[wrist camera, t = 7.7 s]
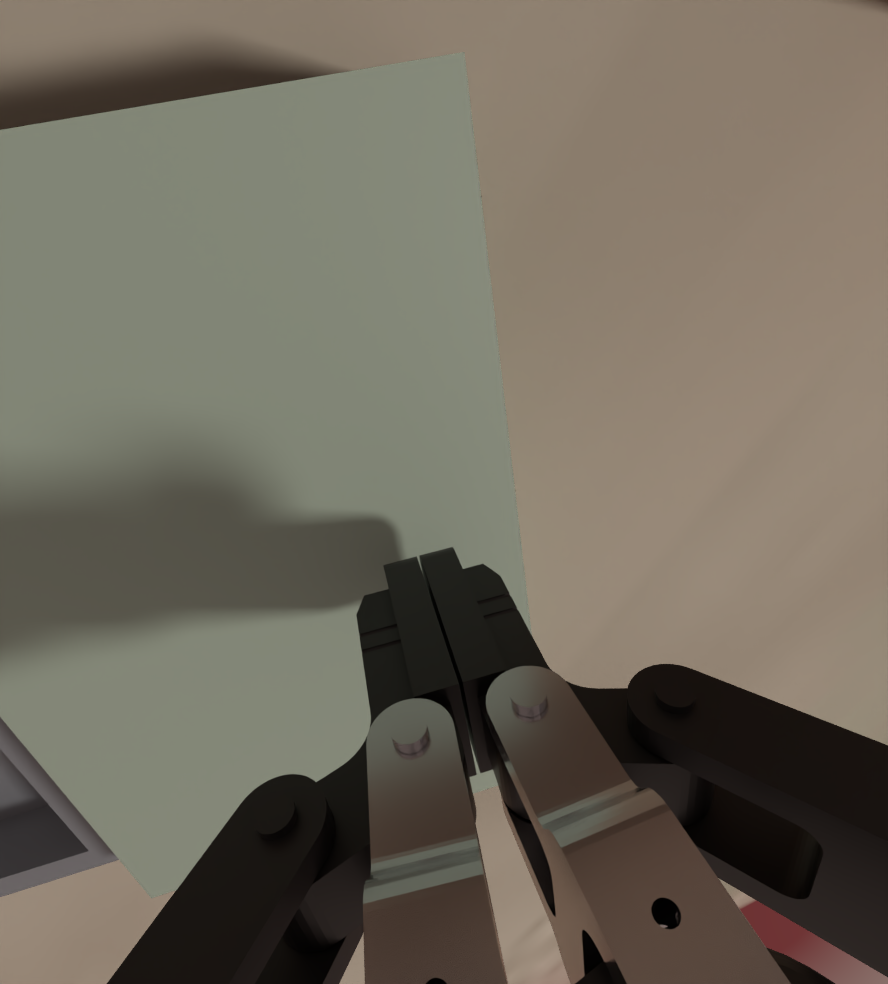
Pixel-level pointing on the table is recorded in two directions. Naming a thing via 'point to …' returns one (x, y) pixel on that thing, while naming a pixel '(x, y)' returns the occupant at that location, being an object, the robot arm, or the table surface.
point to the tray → (39, 824)
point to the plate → (235, 431)
